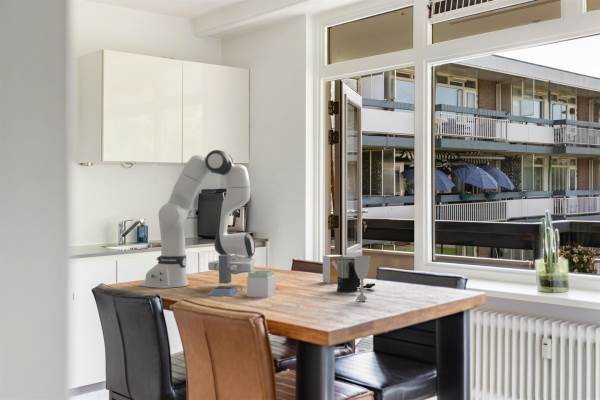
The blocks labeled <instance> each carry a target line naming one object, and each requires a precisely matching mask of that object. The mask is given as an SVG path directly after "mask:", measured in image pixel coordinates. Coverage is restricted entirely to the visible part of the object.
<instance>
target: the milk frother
mask: <svg viewBox="0 0 600 400" xmlns="http://www.w3.org/2000/svg"><path fill="white" fill-rule="evenodd" d="M337 276H338V277H337V278H338V283H336V284H337V287H336V291H337V292H340V291H341V292H342V293H351V292H352V291H355V292H357V291H358V290H360V288H361V285H360V284H361V279H359V278H358V276H357V274H356V271H355V259H354V256H343V257H338V258H337ZM375 286H376V283H374V282H373V283H366V284H364V285H363V288H364V289H367V288H371V289H372V288H373V287H375Z"/></svg>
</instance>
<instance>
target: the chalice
mask: <svg viewBox="0 0 600 400" xmlns="http://www.w3.org/2000/svg"><path fill="white" fill-rule="evenodd" d="M353 257H354V259H355V271H356V274H357V276H358V278H359V279H360V287H361V288H360V287H359V288H360V289H359V290H360V294H358V295H357V297H356V300H359V301H365V300H368V297H367V295H366V294H365V293H364V290H365V288H363V286H365V283H364V280H365V279H366V278H367V277H368V274H369V270H370V258H371V256H370V255H354V256H353Z"/></svg>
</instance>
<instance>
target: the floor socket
mask: <svg viewBox="0 0 600 400" xmlns="http://www.w3.org/2000/svg"><path fill="white" fill-rule="evenodd" d="M241 293H243V290H238V286H233V285H232V286H231V285H227V286H226V285H219V286H216V287H212V288H211V291H210V292H208V293H206V294H205V295H206V296H218V295H219V296H221V297H233V296H236V295H238V294H241Z"/></svg>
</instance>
